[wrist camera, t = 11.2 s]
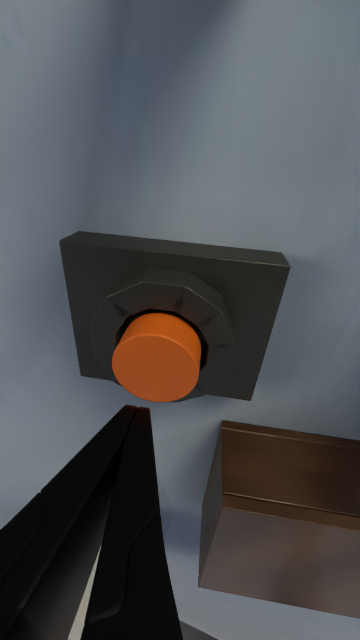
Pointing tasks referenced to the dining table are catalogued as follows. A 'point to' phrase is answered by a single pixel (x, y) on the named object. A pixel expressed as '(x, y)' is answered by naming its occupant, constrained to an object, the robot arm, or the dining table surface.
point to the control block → (175, 302)
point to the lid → (284, 555)
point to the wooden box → (281, 472)
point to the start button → (158, 358)
